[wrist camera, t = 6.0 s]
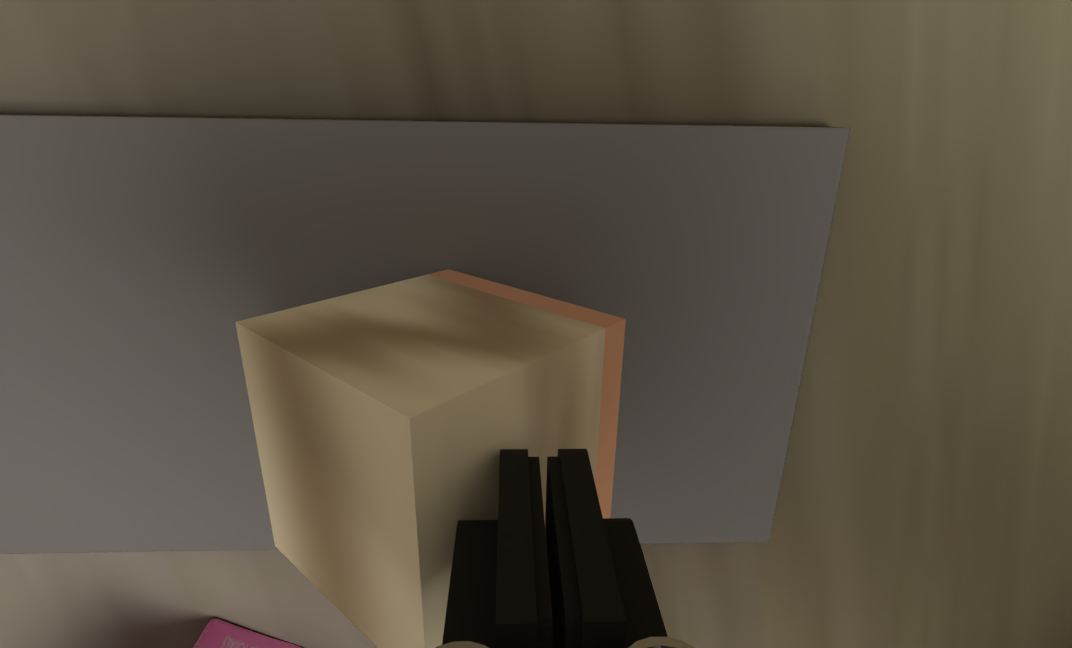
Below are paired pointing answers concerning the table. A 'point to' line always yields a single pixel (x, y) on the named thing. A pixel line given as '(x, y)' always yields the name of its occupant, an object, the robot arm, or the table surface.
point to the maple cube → (417, 429)
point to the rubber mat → (379, 259)
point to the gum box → (235, 637)
